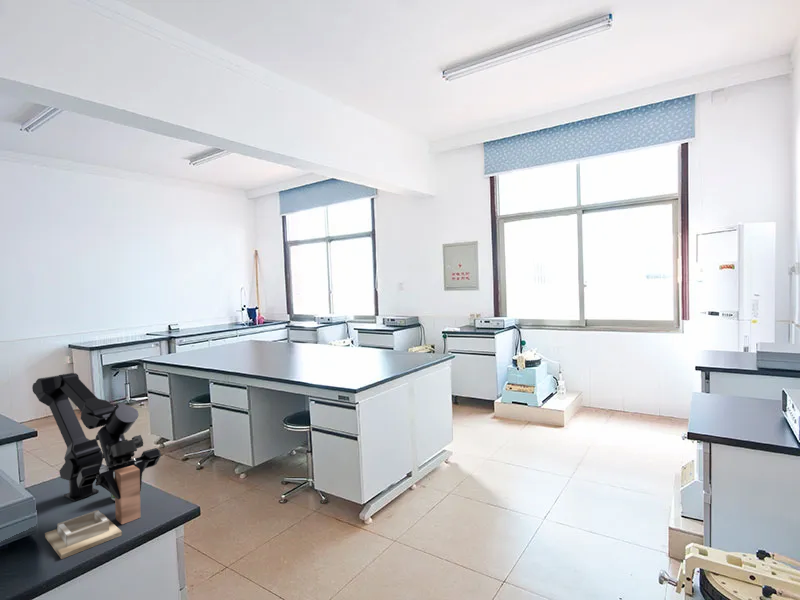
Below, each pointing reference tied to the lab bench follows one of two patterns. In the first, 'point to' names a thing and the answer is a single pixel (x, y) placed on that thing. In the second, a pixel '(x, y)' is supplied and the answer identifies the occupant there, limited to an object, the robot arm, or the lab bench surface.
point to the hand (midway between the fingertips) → (129, 495)
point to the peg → (128, 494)
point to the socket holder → (82, 533)
